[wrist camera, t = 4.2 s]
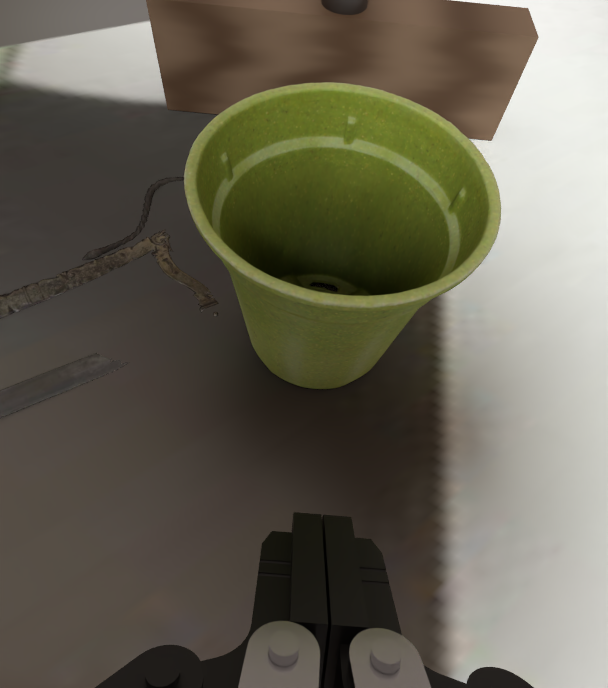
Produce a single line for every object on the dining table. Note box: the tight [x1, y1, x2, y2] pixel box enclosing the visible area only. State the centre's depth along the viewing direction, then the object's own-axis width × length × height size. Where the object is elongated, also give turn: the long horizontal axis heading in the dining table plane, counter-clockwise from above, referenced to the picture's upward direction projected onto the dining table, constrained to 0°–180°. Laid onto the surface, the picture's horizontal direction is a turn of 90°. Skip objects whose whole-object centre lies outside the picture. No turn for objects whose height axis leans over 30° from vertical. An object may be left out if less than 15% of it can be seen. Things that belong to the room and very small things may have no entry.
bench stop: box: [146, 0, 538, 141], centre depth 26 cm, size 20×3×9 cm, turn 86°
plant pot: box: [184, 82, 501, 389], centre depth 18 cm, size 9×9×9 cm
